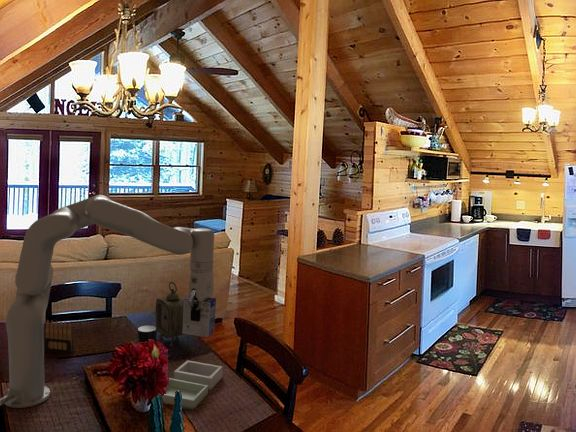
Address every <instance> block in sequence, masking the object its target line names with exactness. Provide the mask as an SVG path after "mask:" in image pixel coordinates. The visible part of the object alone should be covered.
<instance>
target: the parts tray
mask: <svg viewBox="0 0 576 432" xmlns="http://www.w3.org/2000/svg"><path fill="white" fill-rule="evenodd" d="M168 378H169V386H168V388H167V390H166V394H164V395H163V396H162V398H163V401H164V402H165V403H172V404H173V403H174V397H175V392H176V391H177V390H180V391H181V394H182V407H183V409H188V410H192V411H193V410H195V409H196V408H197V407H198V406H199V404H200V403H202V401H204V399H205V398H206V397H207V396H208V395H209V389H208V385H203V384H198V383H192V382H187V381H182V380H177V379H174V378H172V377H171V378H170V377H168Z"/></svg>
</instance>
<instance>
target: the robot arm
mask: <svg viewBox="0 0 576 432" xmlns="http://www.w3.org/2000/svg"><path fill="white" fill-rule="evenodd" d="M92 225H97V226H100V227H102V228H105V229H108V230H112V231H113V232H117V233H120V234H123V235H125V236H128V237H130V238H133V239H136V240H137V241H140V242H142V243H146V244H147V245H149V246H152V247H155V248H157V249H160V250H162V251H166V252H168V253H172V254H175V255H179V256H180V255H187V254H188V253H189V252H190V254H189V255H190V256H189V257H190V258H189V259H190V261H189V263H190V264H189V270H190V274H189V275H190V276H189V284H188V296H189V301H188V303H189V305H190V309H191V321H197V322H199V321H200V310H199V308H200V302H203V301H205V300H206V299H208V298H212V296H213V295H214V251H215V249H214V248H215V231H214V230H213V229H211V228H205V227H200V228H198V227H197V228H191V227H190V228H189V227H184V226H174V227H172V226H169V225H166V224H164V223H161V222H160V221H157V220H156V219H154V218H153V217H151V216H150V215H148V214H147V213H145V212H143V211H141V210H138V209H137V208H136V209H135V208H133V207H129V206H128V205H124V204H122V203H119V202H116V201H113V200H112V199H110V198H109V197H108V196H106V195H104V194H96V195H94V196H91V197H89V198H85V199H82V200H80V201H78V202H73V203H72V204H68V205H65V206H62V207H60V208H57V209H55V210H54V211H53V212H52V213H51V214H48V215H45V216H42V217H39V218H38V219H37V220H35V221H34V222H33V223H32V224H31V225H30V226H29V227H28V229H27V230H26V232H25V234H24V237H23V242H22V247H21V251H20V255H19V260H18V266H17V270H16V273H15V279H14V282H15V286H16V287H15V288H16V292H15V293H16V294H15V297H14V298H15V299H14V301H13V302H12V303H11V305H10V306H9V308H8V311H7V313H6V318H5V325H6V326H5V327H6V333H7V344H8V345H7V346H8V347H7V348H8V349H7V351H8V382H9V383H8V385H9V388H7V389H6V393H5V395H4V396H2V397H0V407H1V406H2V405H5V406H7V407H8V408H13V409H25V408H29V407H34V406H37V405H40V404H42V403H43V402H45V401H46V400H48V399H49V398H50V397H51V389H50V388H49V387H48V386H45V384H46V383H45V382H46V381H45V350H44V349H45V336H44V335H45V332H44V316H45V313H46V311H47V308H48V304H49V300H50V293H51V288H52V283H53V278H54V270H53V266H52V260H53V256H54V248H55V246H56V244H57V243H58V242H60V241H62V240H65V239H68V238H70V237H72V236H74V235H75V232H76V231H78V230H81V229H84V228H87V227H89V226H92ZM195 298H197V300H194V299H195ZM194 302H198V303H197V305H196V303H194Z"/></svg>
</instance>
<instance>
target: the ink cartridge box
mask: <svg viewBox="0 0 576 432" xmlns="http://www.w3.org/2000/svg"><path fill="white" fill-rule="evenodd" d="M183 300H184V306H183V329H182V333H183V334H185V335H189V336H198V337H204V338H210V337H211V336H212V335H213V334H215V330H216V329H215V328H216V327H215V326H216V307H217V303H216V302H217V299H216V298H215V297H210V298H208V299H206V300H205V301H203V302H200V308H199V310H200V321H199V322H197V321H191V309H190V305H189V303H188V301H189V295H188V296H186V297H185V298H184V299H183ZM194 300H197V298H195V299H194ZM194 303H196V305H197V303H198V302H194Z"/></svg>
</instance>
